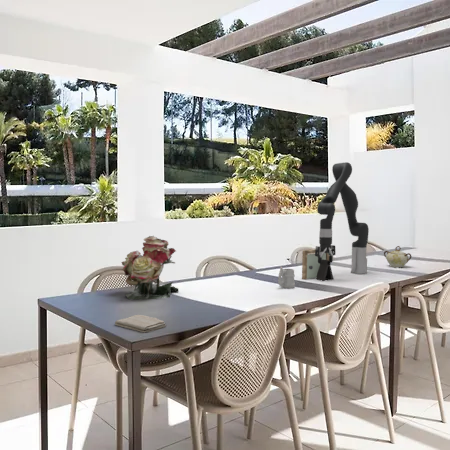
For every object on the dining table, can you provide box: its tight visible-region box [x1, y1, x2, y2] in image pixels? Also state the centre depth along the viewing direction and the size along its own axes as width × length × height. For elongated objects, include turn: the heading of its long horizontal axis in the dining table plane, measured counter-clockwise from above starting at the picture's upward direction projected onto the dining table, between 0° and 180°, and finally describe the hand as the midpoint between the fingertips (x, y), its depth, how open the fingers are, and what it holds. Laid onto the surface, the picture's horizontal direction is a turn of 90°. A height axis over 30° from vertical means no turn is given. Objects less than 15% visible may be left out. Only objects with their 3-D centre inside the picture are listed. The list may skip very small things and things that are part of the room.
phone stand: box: [315, 259, 334, 282], centre depth 300 cm, size 9×6×12 cm, turn 124°
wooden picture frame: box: [301, 249, 329, 280], centre depth 306 cm, size 20×2×18 cm, turn 121°
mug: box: [277, 266, 296, 289], centre depth 274 cm, size 8×12×12 cm, turn 133°
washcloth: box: [114, 314, 167, 333], centre depth 193 cm, size 12×18×3 cm, turn 53°
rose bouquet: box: [120, 235, 179, 300], centre depth 249 cm, size 26×29×30 cm
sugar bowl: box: [383, 245, 412, 268], centre depth 356 cm, size 20×15×15 cm
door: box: [306, 253, 326, 280], centre depth 305 cm, size 15×3×15 cm, turn 121°
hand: (325, 262), depth 300 cm, fingers open, 8 cm apart
